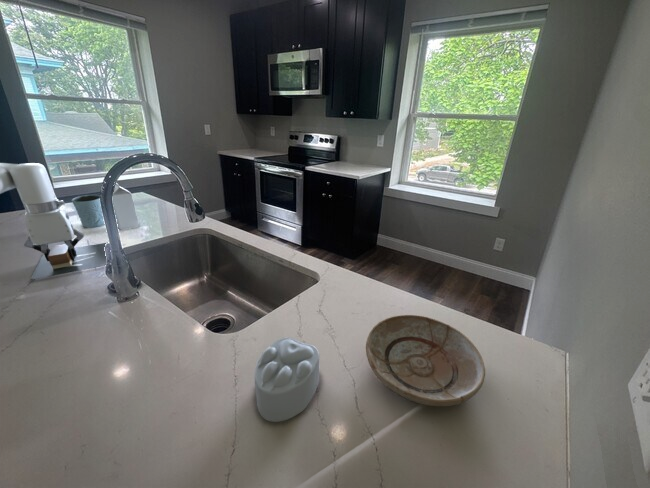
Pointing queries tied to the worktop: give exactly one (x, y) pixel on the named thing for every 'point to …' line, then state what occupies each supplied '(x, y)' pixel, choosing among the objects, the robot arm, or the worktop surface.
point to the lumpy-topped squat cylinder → (286, 379)
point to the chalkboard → (74, 262)
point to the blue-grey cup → (89, 210)
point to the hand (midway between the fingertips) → (63, 260)
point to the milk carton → (124, 208)
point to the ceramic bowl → (425, 360)
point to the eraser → (59, 256)
